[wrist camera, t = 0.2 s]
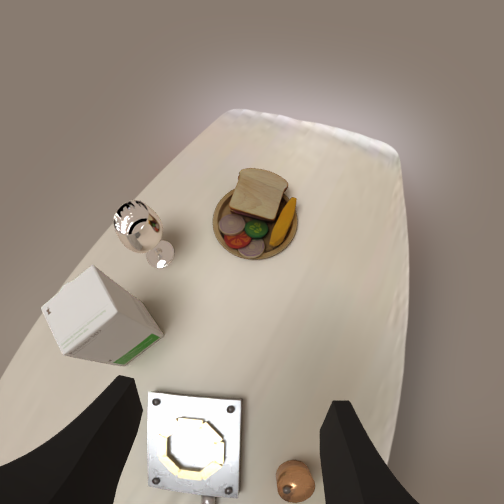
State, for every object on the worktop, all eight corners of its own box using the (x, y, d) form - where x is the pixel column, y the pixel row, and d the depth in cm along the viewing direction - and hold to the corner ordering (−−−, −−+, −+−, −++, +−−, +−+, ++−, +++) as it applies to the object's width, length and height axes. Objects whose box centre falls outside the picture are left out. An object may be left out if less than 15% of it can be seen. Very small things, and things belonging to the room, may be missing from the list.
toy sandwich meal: (198, 240, 47) (192, 227, 42) (240, 172, 51) (238, 155, 47) (275, 276, 44) (276, 265, 40) (311, 200, 49) (315, 184, 44)
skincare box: (123, 367, 40) (60, 360, 25) (100, 330, 42) (37, 307, 27) (167, 334, 42) (119, 313, 27) (142, 297, 44) (90, 261, 29)
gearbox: (238, 508, 32) (236, 519, 28) (154, 497, 32) (146, 506, 29) (242, 398, 38) (240, 401, 35) (154, 391, 39) (145, 392, 35)
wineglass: (138, 268, 45) (102, 236, 34) (148, 234, 47) (118, 194, 36) (173, 275, 45) (144, 243, 33) (182, 239, 47) (159, 198, 35)
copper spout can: (309, 459, 35) (317, 474, 28) (307, 486, 33) (315, 504, 27) (276, 460, 35) (278, 475, 29) (275, 487, 33) (277, 506, 27)
